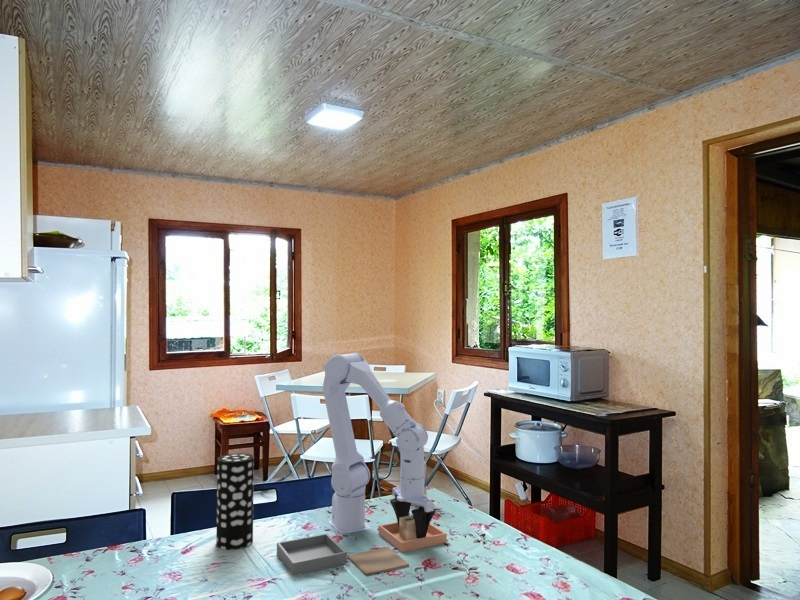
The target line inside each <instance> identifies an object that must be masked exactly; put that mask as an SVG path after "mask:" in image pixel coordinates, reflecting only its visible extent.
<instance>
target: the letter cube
mask: <svg viewBox="0 0 800 600" xmlns="http://www.w3.org/2000/svg"><path fill="white" fill-rule="evenodd" d="M399 536H400V537H401V538H402V539H404V540H405V541H409V540H414V539H417V537H416V526H415V521H414V517H413V514H412V515H410V514H409V516H405V517H400V518H399Z"/></svg>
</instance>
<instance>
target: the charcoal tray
mask: <svg viewBox="0 0 800 600" xmlns="http://www.w3.org/2000/svg"><path fill="white" fill-rule="evenodd" d="M347 555H348V552H347V551H346V550H345V549H344V548H343V547H342V546H341V545H340V544H339V543H338V542H337V541H336V540H335V539H334V538H333V537H332V536H331V535H329V534H328V533H323V534H318V535H311V536H306V537H301V538H296V539H295V538H294V539H291V540H284V541H279V542H276V556H278V558H279V560H280V561H281V562H282V564H283V565H284V566H285V567H286V569H287V570H288V571H289V573H290V574H291V575H292V576H293V577H295V576H299V575H304V574H309V573H314V572H318V571H323V570H327V569H331V568H332V569H333V568H336V567H340V566H345V564H344V563H347V561H348V558H347Z"/></svg>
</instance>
